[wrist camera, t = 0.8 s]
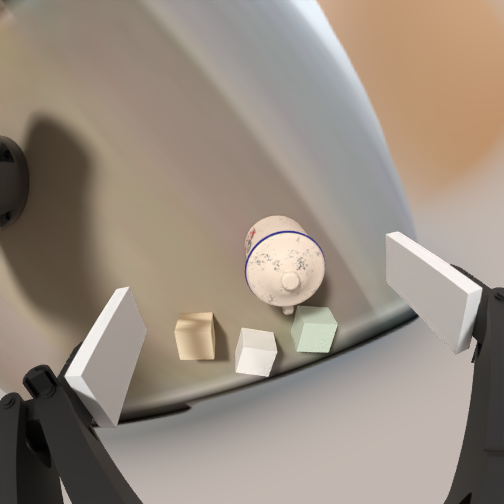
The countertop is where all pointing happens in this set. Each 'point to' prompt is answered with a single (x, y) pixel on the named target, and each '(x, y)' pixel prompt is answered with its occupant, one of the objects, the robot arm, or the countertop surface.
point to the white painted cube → (255, 352)
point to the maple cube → (195, 336)
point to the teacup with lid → (282, 262)
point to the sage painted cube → (313, 329)
